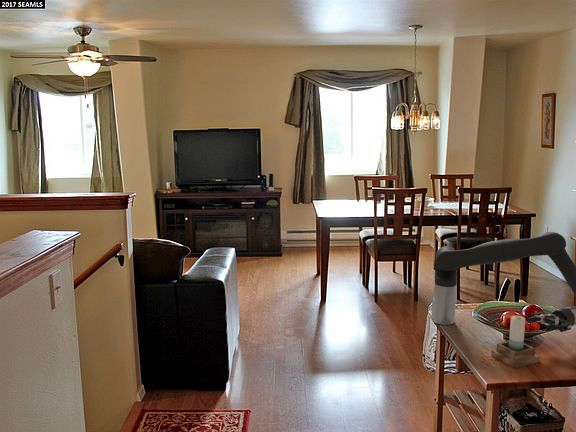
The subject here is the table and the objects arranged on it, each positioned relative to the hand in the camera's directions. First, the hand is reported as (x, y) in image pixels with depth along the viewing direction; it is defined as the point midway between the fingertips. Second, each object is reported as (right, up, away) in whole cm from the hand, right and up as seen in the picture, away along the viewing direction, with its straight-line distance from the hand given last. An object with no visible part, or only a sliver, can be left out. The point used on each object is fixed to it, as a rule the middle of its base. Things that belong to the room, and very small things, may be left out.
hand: (537, 324), depth 221 cm
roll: (-9, -10, -2) cm, 14 cm away
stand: (-9, -12, -2) cm, 16 cm away
